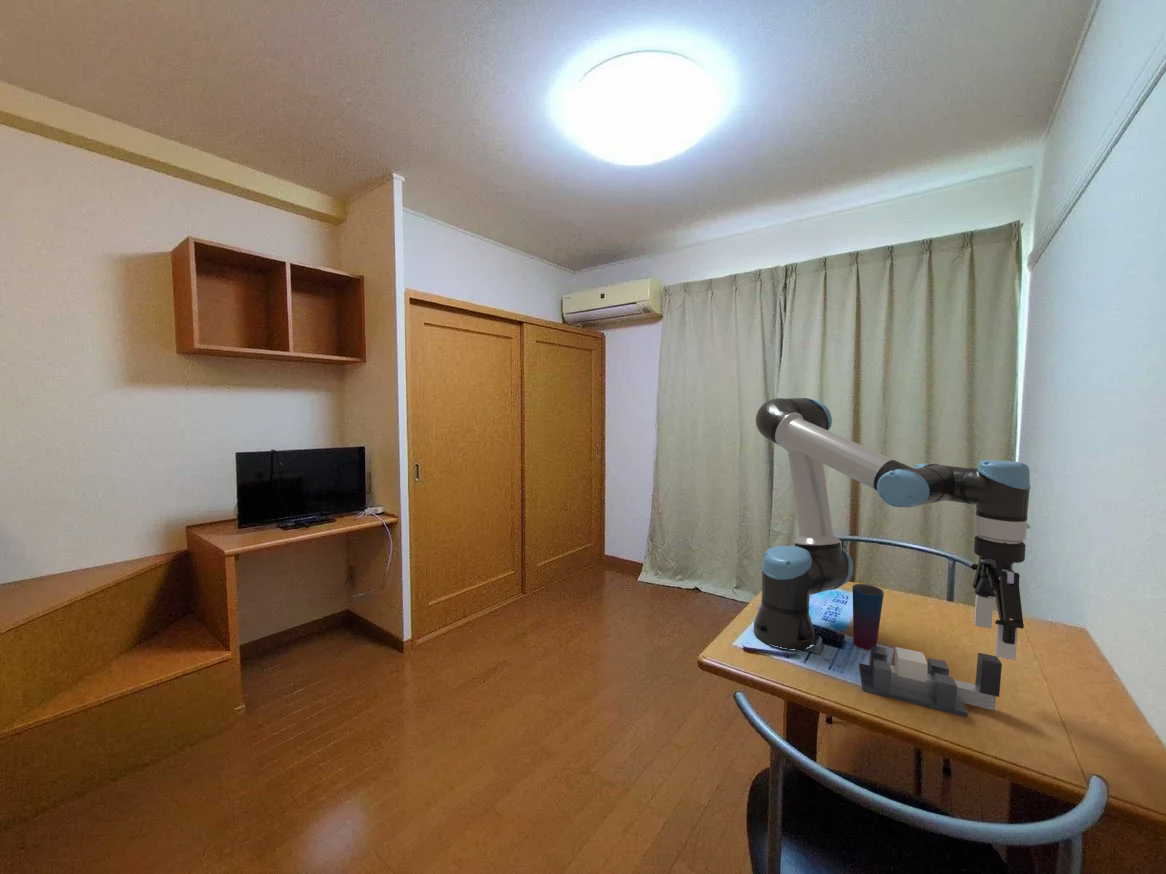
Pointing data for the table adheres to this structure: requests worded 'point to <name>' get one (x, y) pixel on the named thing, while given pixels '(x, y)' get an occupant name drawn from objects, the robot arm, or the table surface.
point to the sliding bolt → (963, 683)
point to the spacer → (910, 664)
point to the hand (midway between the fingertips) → (993, 641)
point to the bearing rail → (879, 683)
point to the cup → (866, 614)
